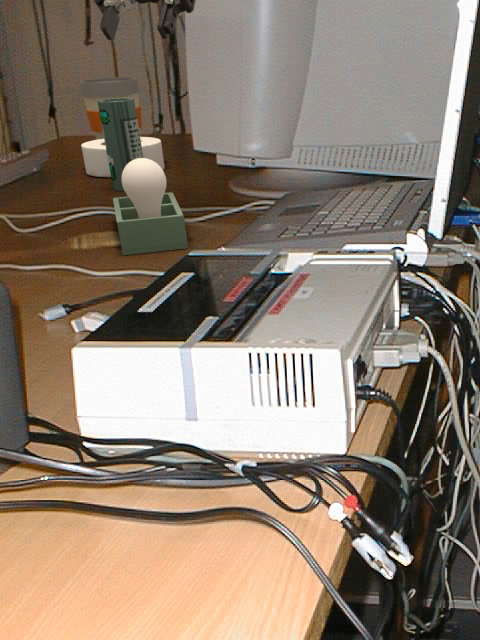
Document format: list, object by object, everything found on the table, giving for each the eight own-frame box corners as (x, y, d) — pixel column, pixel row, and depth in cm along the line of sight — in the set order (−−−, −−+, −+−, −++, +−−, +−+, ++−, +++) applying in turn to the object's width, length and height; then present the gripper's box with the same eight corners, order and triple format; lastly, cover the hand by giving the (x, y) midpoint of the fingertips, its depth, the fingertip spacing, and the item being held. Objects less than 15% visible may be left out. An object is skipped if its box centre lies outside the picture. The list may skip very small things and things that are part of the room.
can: (126, 183, 173) (111, 98, 165) (153, 184, 171) (139, 98, 163) (107, 190, 168) (91, 102, 160) (135, 191, 166) (120, 102, 158)
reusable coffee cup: (160, 150, 206) (149, 77, 199) (114, 159, 198) (100, 83, 191) (127, 146, 213) (115, 76, 206) (81, 154, 205) (67, 81, 198)
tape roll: (162, 161, 193) (158, 133, 191) (167, 173, 180) (163, 143, 177) (86, 167, 190) (81, 139, 187) (86, 180, 177) (80, 150, 174)
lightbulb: (140, 246, 127) (125, 163, 122) (126, 237, 132) (112, 158, 126) (181, 239, 130) (169, 158, 124) (166, 231, 135) (153, 152, 129)
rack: (188, 248, 128) (183, 215, 126) (123, 255, 126) (116, 222, 124) (177, 222, 143) (172, 192, 141) (118, 228, 141) (112, 197, 139)
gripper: (103, -83, 125) (74, 15, 122) (196, -90, 121) (169, 12, 118) (130, -38, 132) (103, 56, 129) (218, -43, 128) (193, 54, 125)
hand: (134, 35), depth 123 cm, fingers open, 8 cm apart
